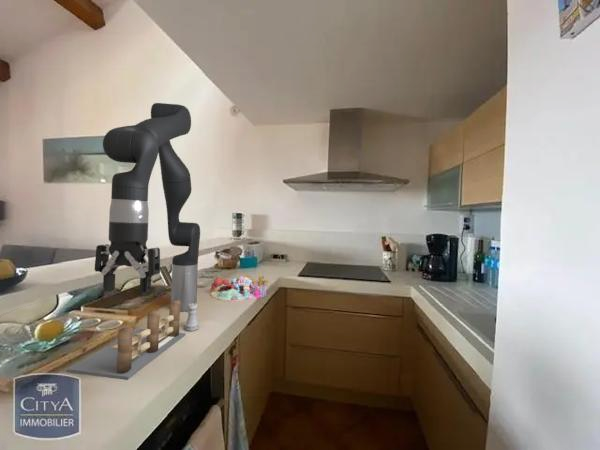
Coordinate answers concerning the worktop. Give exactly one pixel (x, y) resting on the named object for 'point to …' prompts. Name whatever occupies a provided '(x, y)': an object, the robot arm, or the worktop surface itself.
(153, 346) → the fixed fence section
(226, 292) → the candy landscape model
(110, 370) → the board
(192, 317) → the rook chess piece
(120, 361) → the swinging fence panel
